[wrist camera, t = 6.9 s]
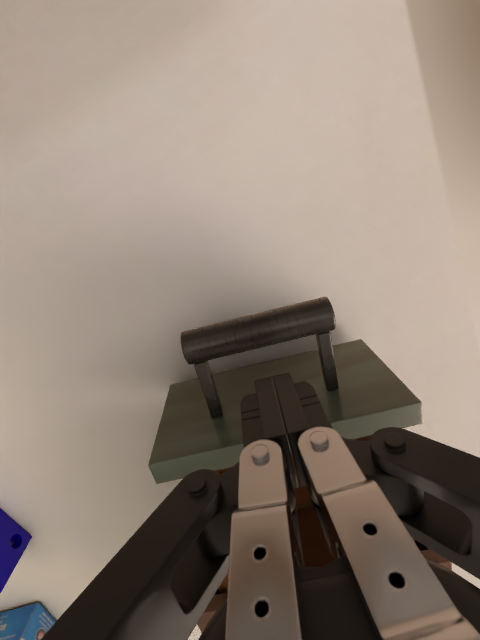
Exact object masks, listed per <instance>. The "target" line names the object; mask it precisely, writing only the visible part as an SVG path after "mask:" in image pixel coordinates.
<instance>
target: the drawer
mask: <svg viewBox="0 0 480 640" xmlns="http://www.w3.org/2000/svg"><path fill="white" fill-rule="evenodd" d="M334 329H335V315H334V311H333V308H332V305H331V303H330V301H329V299H328V298H327V297H322V298H318V299H314V300H310V301H306V302H302V303H297V304H293V305H289V306H285V307H281V308H277V309H273V310H269V311H265V312H261V313H257V314H253V315H249V316H245V317H240V318H236V319H232V320H228V321H224V322H220V323H216V324H212V325H208V326H204V327H200V328H196V329H192V330H188V331H184V332H182V333H181V347H182V351H183V354H184V357H185V360H186V361H187V363H188V364H194V366H195V369H196V372H197V375H198V378H197V379H193V380H189V381H185V382H181V383H176V384H172V385H170V388H169V392H168V395H167V399H166V402H165V406H164V410H163V413H162V417H161V421H160V424H159V428H158V431H157V435H156V439H155V442H154V446H153V450H152V453H151V457H150V461H149V464H148V466H149V468H150V470H151V472H152V475H153V477H154V479H155V482H156V483H157V484H159V483H163V482H168V481H172V480H177V479H181V478H184V477H186V476H187V475H188V474H190V473H191V472H194V471H196V470H200V469H209V470H212V471H214V472H215V473H217V475H220V474H222V473H224V472H226V471H227V470H229V469H231V468H232V467H234V466H235V465H236V464H237V463H238V462H239V458H240V454H241V452H242V450H243V449H244V446H243V434H242V420H241V409H240V403H241V401H242V399H243V397H244V395H247V394H252V393H256V390H255V384H254V380H258V379H262V378H266V377H271V379H272V383H273V387H274V390H275V394H276V389H275V385H274V381H273V377H272V376H274V375H279V374H283V373H287V372H289V373H290V375H291V378H292V380H293V383H298V382H302V381H306V382H307V383H309V384H310V385H312V386H313V387H314V389H315V391H316V394H317V396H318V398H319V400H320V403H321V404H322V406H323V409H324V411H325V413H326V415H327V417H328V419H329V421H330V424H331V426H332V428H333V429H334V430H335V431H337V432H338V433H339V435H340V436H342V437H344V438H347V439H351V440H360V441H370V438H371V436H372V434H373V433H374V432H376V431H377V430H379V429H382V428H387V427H397V428H405V427H409V426H413V425H418V424H422V423H423V422H422V404H421V401H420V400H419V399H418V398H417V397H416V396H415V395H414V394H413V393H412V392H411V391H410V390H409V389H408V388H407V387H406V386H405V384H404V383H403V382H402V381H401V380H400V379H399V378H398V377H397V376H396V375H395V374H394V373H393V372H392V371H391V370H390V369H389V368H388V367H387V366H386V365H385V364H384V363H383V362H382V360H381V359H380V358H379V357H378V356H377V355H376V354H375V353H374V352H373V351H372V350H371V349H370V348H369V347H368V346H367V345H366V344H365V343H364V342H363V341H362V340H361V339H360V340H356V341H352V342H347V343H343V344H339V345H335V346H332V341H331V335H330V332H329V331H332V330H334ZM315 334H316V340H317V345H318V350H314V351H310V352H306V353H301V354H297V355H293V356H289V357H285V358H281V359H276V360H272V361H268V362H264V363H260V364H256V365H251V366H247V367H243V368H239V369H235V370H231V371H226V372H222V373H218V374H214V375H212V373H211V370H210V367H209V363H208V360H212V359H216V358H220V357H224V356H228V355H232V354H236V353H241V352H245V351H249V350H253V349H257V348H261V347H265V346H270V345H274V344H278V343H282V342H286V341H290V340H294V339H299V338H303V337H307V336H311V335H315ZM276 398H277V394H276ZM277 402H278V398H277ZM278 406H279V402H278ZM279 409H280V406H279ZM280 413H281V410H280ZM281 417H282V414H281ZM282 421H283V418H282ZM283 425H284V422H283ZM284 429H285V426H284ZM285 432H286V429H285ZM286 436H287V433H286ZM287 440H288V437H287ZM288 445H289V441H288ZM289 449H290V453H291V457H292V461H293V465H294V469H295V474H296V478H297V482H298V486H299V487H298V488H293V490H294V494H295V498H296V510H297V516H298V523H299V530H300V537H301V543H302V550H303V557H304V564H305V567H323V566H325V565H327V564H329V563H331V562H332V559H331V556H330V553H329V551H328V548H327V545H326V543H325V540H324V537H323V535H322V532H321V529H320V527H319V524H318V521H317V519H316V516H315V513H314V511H313V508H312V504H311V500H310V495H309V492H308V488H307V485H306V486H302V487H301V486H300V482H299V478H298V475H297V471H296V467H295V463H294V460H293V456H292V452H291V448H290V445H289ZM412 539H413V538H412ZM413 541H414V539H413ZM228 575H229V571H228V573H227V575H226V576H225V578H224V580H223V581H222V583H221V585H220V586H219V588H218V589H219V591H220V594H221V593H226V592H228Z"/></svg>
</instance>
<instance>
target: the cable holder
mask: <svg viewBox="0 0 480 640" xmlns="http://www.w3.org/2000/svg"><path fill="white" fill-rule="evenodd" d="M31 538H32V536H31V535H30V534H29V533H28V532H26V531H25V530H24V529H23V528H22V527H21V526H20V525H18V524H17V523H16V522H15V521H14V520H13V519H12V518H10V517H9V516H8V515H7V514H6V513H5V512H4V511H2V510H1V509H0V593H1V592H2V590H3V588H4V586H5V584H6V583H7V581H8V579H9V577H10V575H11V574H12V572H13V570H14V568H15V566H16V565H17V563H18V561H19V559H20V557H21V556H22V554H23V552H24V550H25V549H26V547H27V545H28V543H29V541H30V540H31Z"/></svg>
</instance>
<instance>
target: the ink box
mask: <svg viewBox="0 0 480 640" xmlns="http://www.w3.org/2000/svg"><path fill="white" fill-rule="evenodd" d="M55 622H56V621H55V620H54V619H53V618H52V617H51V616H50V615H49V613H48V612H47V611H46V610H45V609H44V608H43V607H42V605H41V604H40V603H34V604H31V605H27V606H23V607H20V608H16V609H13V610H9V611H5V612H2V613H0V640H40V639H41V638H42V637H43V636H44V635H45V634H46V633H47V631H48V630H49V629H50V628H51V627H52V626H53V625H54V624H55Z"/></svg>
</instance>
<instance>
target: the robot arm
mask: <svg viewBox="0 0 480 640" xmlns="http://www.w3.org/2000/svg"><path fill="white" fill-rule="evenodd" d="M272 377H273V381H274V385H275V389H276V394H277V398H278V402H279V406H280V409H279V406H278V402H277V398H276V394H275V390H274V387H273V383H272V379H271V377H266V378H262V379H258V380H254V384H255V390H256V393H252V394H247V395H244V397H243V399H242V401H241V403H240V409H241V420H242V434H243V446H244V449H243V450H242V452H241V454H240V458H239V462H238V463H237V464H236V465H235V466H234V467H232V468H231V469H229V470H227V471H226V472H224V473H222V474H220V475H217V473H215V472H214V471H212V470H209V469H200V470H196V471H194V472H191V473H190V474H188V475H187V476H186V477H184V478H183V479H182V480H181V482H180V483H179V484H178V485H177V486H176V487H175V488H174V490H173V491H172V492H171V493H170V494H169V495H168V496H167V497H166V499H165V500H164V501H163V502H162V503H161V504H160V505H159V506H158V508H157V509H156V510H155V511H154V512H153V513H152V514H151V515H150V517H149V518H148V519H147V520H146V521H145V522H144V523H143V524H142V526H141V527H140V528H139V529H138V530H137V531H136V532H135V533H134V535H133V536H132V537H131V538H130V539H129V540H128V541H127V542H126V544H125V545H124V546H123V547H122V548H121V549H120V550H119V551H118V553H117V554H116V555H115V556H114V557H113V558H112V559H111V560H110V562H109V563H108V564H107V565H106V566H105V567H104V568H103V570H102V571H101V572H100V573H99V574H98V575H97V576H96V577H95V579H94V580H93V581H92V582H91V583H90V584H89V585H88V586H87V588H86V589H85V590H84V591H83V592H82V593H81V594H80V595H79V597H78V598H77V599H76V600H75V601H74V602H73V603H72V604H71V606H70V607H69V608H68V609H67V610H66V611H65V612H64V613H63V615H62V616H61V617H60V618H59V619H58V620H57V621H56V622H55V624H54V625H53V626H52V627H51V628H50V629H49V630H48V631H47V633H46V634H45V635H44V636H43V637H42V638H41V639H40V640H187V639H188V637H189V636H190V634H191V632H192V631H193V629H194V628H195V626H196V624H197V623H198V621H199V619H200V618H201V616H202V614H203V613H204V611H205V609H206V608H207V606H208V604H209V603H210V601H211V599H212V598H213V596H214V595H215V593H216V591H217V590H218V588H219V586H220V585H221V583H222V581H223V580H224V578H225V576H226V575H227V573H228V571H229V575H228V594H227V600H226V601H225V602H224V603H223V604H222V605H221V606H220V607H219V608H218V609H217V611H216V612H215V613H214V615H213V616H212V618H211V619H210V620H209V622H208V624H207V625H206V627H205V629H204V631H203V633H202V634H201V636H200V638H199V640H480V589H479V588H477V587H476V586H474V585H473V584H471V583H470V582H468V581H467V580H465V579H464V578H462V577H461V576H459V575H458V574H456V573H455V572H453V571H451V570H450V569H448V568H446V567H444V566H442V565H440V564H438V563H436V562H433V561H431V560H428V559H425V558H424V556H423V555H422V553H421V552H420V550H419V549H418V547H417V545H416V544H415V542H414V541H413V539H415V540H416V541H418V542H420V543H421V544H423V545H425V546H426V547H428V548H429V549H431V550H433V551H434V552H436V553H438V554H439V555H441V556H443V557H444V558H446V559H447V560H449V561H451V562H452V563H454V564H456V565H457V566H459V567H460V568H462V569H464V570H465V571H467V572H469V573H470V574H472V575H474V576H475V577H477V578H478V579H480V458H479V457H476V456H474V455H471V454H468V453H466V452H463V451H460V450H458V449H455V448H452V447H450V446H447V445H445V444H442V443H439V442H437V441H434V440H431V439H429V438H426V437H423V436H421V435H418V434H415V433H413V432H410V431H408V430H405V429H402V428H397V427H387V428H382V429H379V430H377V431H376V432H374V433H373V434H372V436H371V438H370V441H360V440H351V439H347V438H344V437H342V436H340V435H339V433H338V432H337V431H335V430H334V429H333V428H332V426H331V424H330V421H329V419H328V417H327V415H326V413H325V411H324V409H323V406H322V404H321V403H320V400H319V398H318V396H317V394H316V391H315V389H314V387H313V386H312V385H310V384H309V383H307V382H306V381H302V382H298V383H293V380H292V378H291V375H290V373H289V372H287V373H283V374H279V375H274V376H272ZM280 410H281V413H280ZM281 414H282V417H281ZM282 418H283V421H282ZM283 422H284V425H283ZM284 426H285V429H286V432H285V429H284ZM286 433H287V436H286ZM287 437H288V440H287ZM288 441H289V445H290V448H291V452H292V456H293V460H294V463H295V467H296V471H297V475H298V478H299V482H300V486H301V487H302V486H306V485H307V488H308V492H309V495H310V500H311V504H312V508H313V511H314V513H315V516H316V519H317V521H318V524H319V527H320V529H321V532H322V535H323V537H324V540H325V543H326V545H327V548H328V551H329V553H330V556H331V559H332V562H331V563H329V564H327V565H325V566H323V567H305V564H304V557H303V550H302V543H301V537H300V530H299V523H298V516H297V510H296V498H295V494H294V490H293V488H298V487H299V486H298V482H297V478H296V474H295V469H294V465H293V461H292V457H291V453H290V449H289V445H288ZM412 538H413V539H412Z"/></svg>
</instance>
